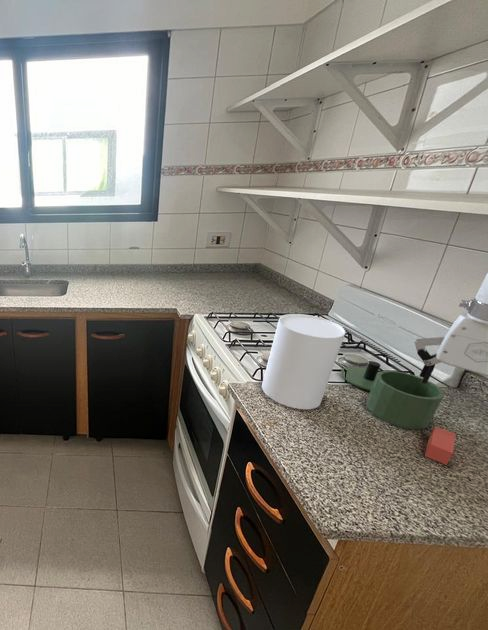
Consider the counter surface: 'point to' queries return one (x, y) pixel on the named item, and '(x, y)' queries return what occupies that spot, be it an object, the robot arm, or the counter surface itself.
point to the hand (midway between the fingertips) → (457, 391)
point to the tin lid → (362, 375)
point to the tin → (404, 399)
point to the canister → (302, 360)
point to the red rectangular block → (440, 445)
